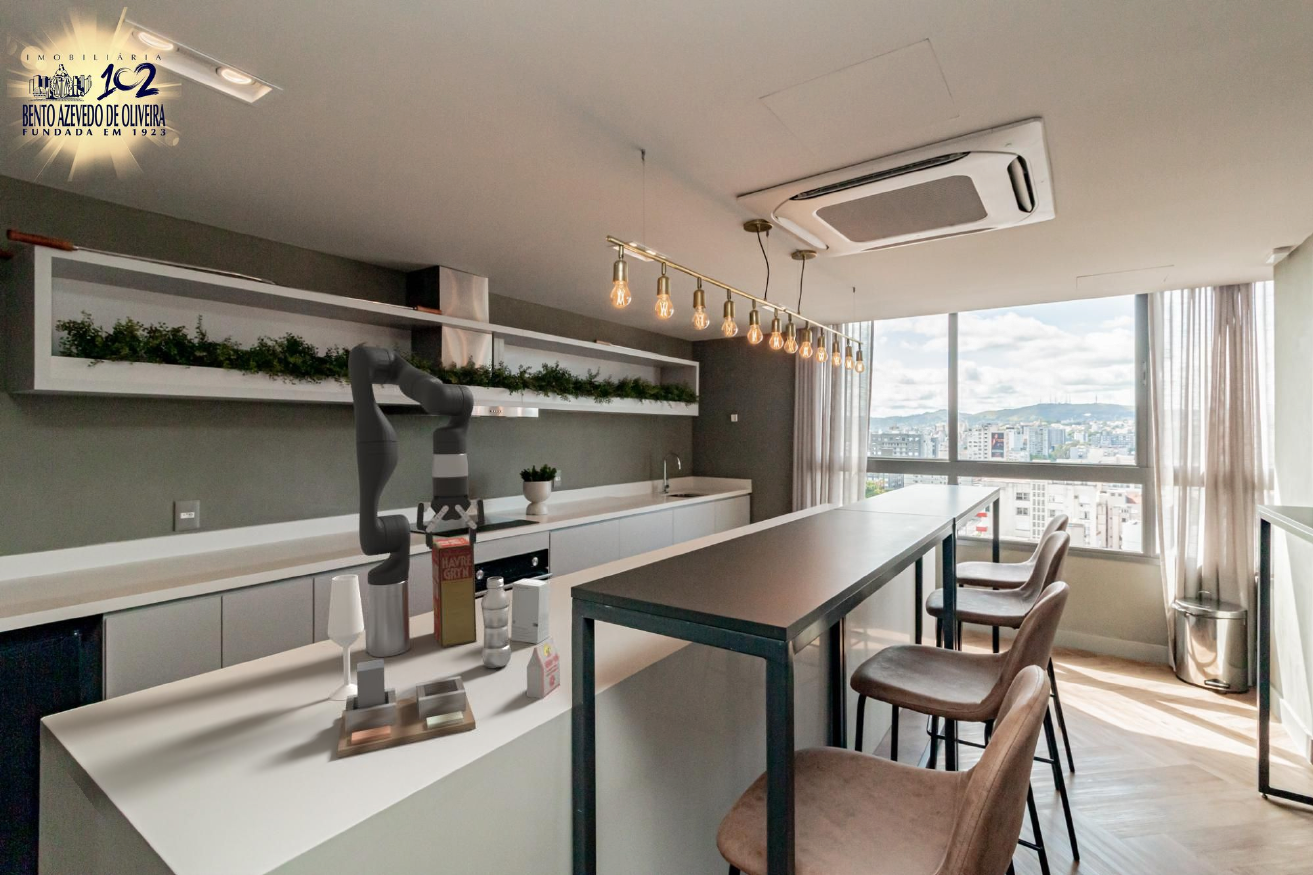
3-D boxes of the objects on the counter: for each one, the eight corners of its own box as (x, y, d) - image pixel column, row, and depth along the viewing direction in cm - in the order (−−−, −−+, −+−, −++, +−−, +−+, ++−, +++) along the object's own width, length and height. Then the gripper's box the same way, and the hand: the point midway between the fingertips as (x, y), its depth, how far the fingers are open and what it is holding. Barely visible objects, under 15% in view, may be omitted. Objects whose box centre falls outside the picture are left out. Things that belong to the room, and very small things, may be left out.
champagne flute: (350, 701, 120) (347, 581, 120) (321, 699, 122) (318, 580, 121) (372, 687, 127) (370, 573, 127) (344, 685, 128) (342, 572, 128)
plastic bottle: (515, 660, 141) (513, 575, 141) (505, 672, 134) (503, 582, 134) (488, 659, 141) (487, 574, 141) (477, 671, 135) (475, 582, 134)
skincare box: (510, 641, 154) (509, 583, 154) (523, 633, 160) (522, 577, 159) (539, 644, 151) (538, 585, 151) (551, 636, 157) (550, 579, 157)
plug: (358, 727, 107) (357, 671, 107) (358, 716, 111) (357, 663, 111) (385, 721, 109) (384, 667, 109) (384, 711, 113) (383, 658, 113)
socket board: (337, 757, 99) (337, 729, 99) (342, 716, 114) (342, 691, 114) (475, 728, 109) (475, 702, 109) (463, 693, 123) (463, 670, 123)
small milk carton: (527, 695, 122) (526, 646, 122) (544, 682, 128) (544, 635, 128) (543, 698, 121) (542, 648, 121) (559, 685, 127) (559, 637, 127)
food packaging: (431, 632, 161) (430, 539, 161) (468, 626, 166) (466, 536, 165) (439, 648, 149) (437, 547, 149) (478, 641, 154) (476, 543, 154)
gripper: (416, 476, 127) (418, 553, 128) (486, 474, 133) (487, 547, 134) (414, 474, 134) (416, 547, 134) (480, 472, 140) (481, 541, 140)
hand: (451, 547), depth 134 cm, fingers open, 8 cm apart
